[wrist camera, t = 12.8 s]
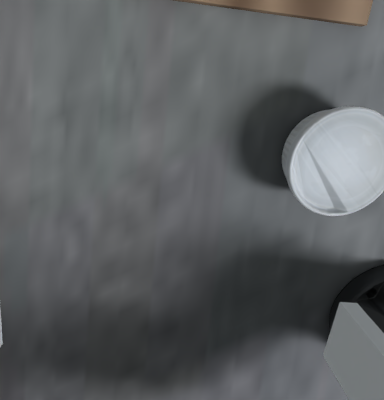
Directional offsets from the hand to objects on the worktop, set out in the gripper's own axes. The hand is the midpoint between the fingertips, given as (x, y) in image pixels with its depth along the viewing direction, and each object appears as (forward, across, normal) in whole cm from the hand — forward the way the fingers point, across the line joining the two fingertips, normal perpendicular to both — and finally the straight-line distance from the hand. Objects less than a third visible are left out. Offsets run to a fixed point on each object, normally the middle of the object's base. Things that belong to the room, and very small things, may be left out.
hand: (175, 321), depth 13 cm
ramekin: (+26, -17, -3) cm, 31 cm away
